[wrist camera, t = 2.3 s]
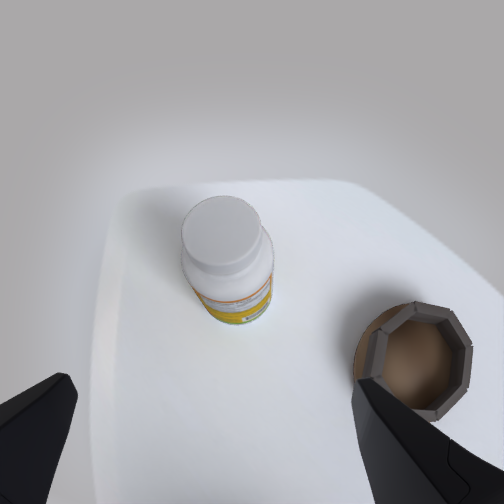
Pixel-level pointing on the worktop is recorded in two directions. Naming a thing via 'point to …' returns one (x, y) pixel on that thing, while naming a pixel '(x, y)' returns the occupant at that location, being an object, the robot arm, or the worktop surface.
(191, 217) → the supplement bottle
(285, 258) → the worktop surface
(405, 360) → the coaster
